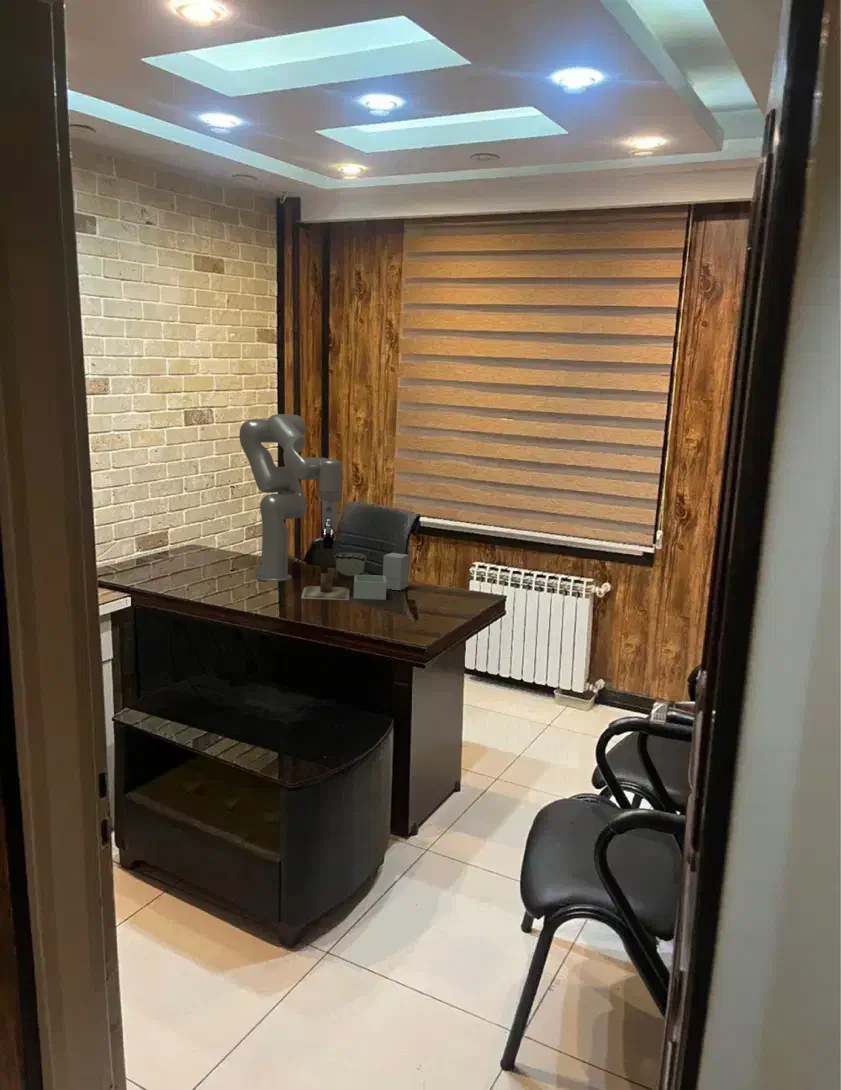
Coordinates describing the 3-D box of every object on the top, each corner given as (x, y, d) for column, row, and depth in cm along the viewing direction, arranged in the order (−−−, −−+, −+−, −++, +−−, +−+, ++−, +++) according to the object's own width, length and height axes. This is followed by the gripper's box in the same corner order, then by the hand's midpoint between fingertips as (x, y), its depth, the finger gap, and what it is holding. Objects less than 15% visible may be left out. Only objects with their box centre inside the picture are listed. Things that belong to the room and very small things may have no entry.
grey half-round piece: (368, 579, 311) (369, 553, 309) (365, 583, 305) (366, 556, 303) (336, 577, 312) (337, 551, 310) (333, 580, 306) (334, 554, 304)
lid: (304, 597, 275) (304, 577, 274) (306, 588, 289) (307, 569, 288) (345, 599, 276) (346, 579, 275) (346, 589, 290) (347, 570, 289)
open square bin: (353, 600, 278) (354, 581, 277) (353, 592, 289) (354, 574, 288) (385, 601, 279) (386, 582, 278) (384, 593, 290) (385, 575, 288)
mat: (300, 599, 274) (301, 598, 274) (304, 588, 290) (304, 587, 290) (348, 601, 275) (348, 599, 275) (349, 590, 291) (349, 589, 291)
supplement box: (408, 588, 300) (410, 554, 298) (399, 592, 293) (401, 557, 291) (390, 585, 303) (392, 552, 301) (381, 589, 296) (383, 555, 294)
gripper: (340, 499, 268) (338, 551, 271) (341, 494, 285) (340, 542, 288) (317, 498, 268) (315, 550, 270) (319, 493, 285) (318, 541, 288)
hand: (328, 546), depth 279 cm, fingers open, 9 cm apart
